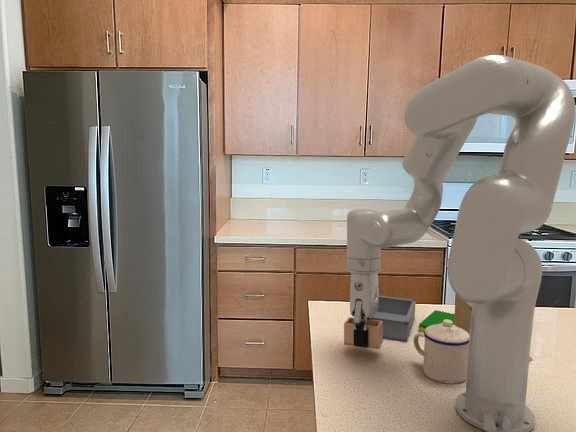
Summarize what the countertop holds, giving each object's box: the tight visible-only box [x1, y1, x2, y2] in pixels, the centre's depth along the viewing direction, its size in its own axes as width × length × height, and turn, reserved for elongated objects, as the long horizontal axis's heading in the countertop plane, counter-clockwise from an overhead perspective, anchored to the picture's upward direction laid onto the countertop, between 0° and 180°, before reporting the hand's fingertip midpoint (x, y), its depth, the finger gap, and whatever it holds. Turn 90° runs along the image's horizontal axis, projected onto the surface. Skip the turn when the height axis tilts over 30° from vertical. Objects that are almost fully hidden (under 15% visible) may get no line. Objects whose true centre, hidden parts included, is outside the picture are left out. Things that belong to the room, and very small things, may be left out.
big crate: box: [373, 295, 417, 343], centre depth 119 cm, size 18×12×5 cm
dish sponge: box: [418, 309, 455, 333], centre depth 119 cm, size 7×14×2 cm, turn 144°
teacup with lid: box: [413, 319, 470, 385], centre depth 93 cm, size 12×9×12 cm
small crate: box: [343, 316, 384, 350], centre depth 102 cm, size 4×8×5 cm, turn 68°
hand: (363, 341), depth 102 cm, fingers closed on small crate, 4 cm apart
